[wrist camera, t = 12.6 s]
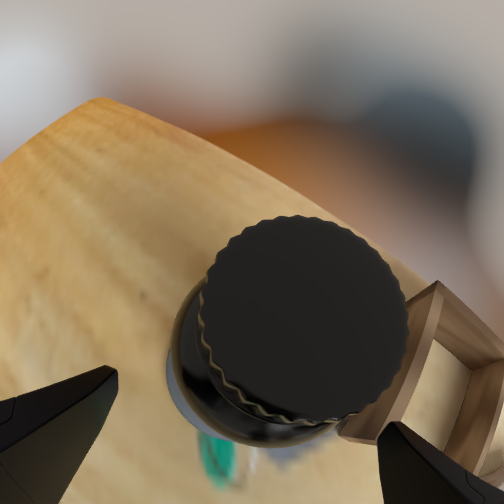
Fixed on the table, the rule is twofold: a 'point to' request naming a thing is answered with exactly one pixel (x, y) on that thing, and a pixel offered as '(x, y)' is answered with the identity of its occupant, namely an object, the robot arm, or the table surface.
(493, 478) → the brick
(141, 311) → the table surface
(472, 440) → the wooden u-shaped frame
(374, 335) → the supplement bottle
